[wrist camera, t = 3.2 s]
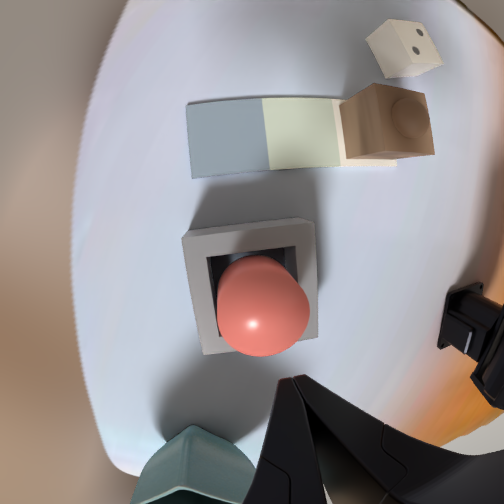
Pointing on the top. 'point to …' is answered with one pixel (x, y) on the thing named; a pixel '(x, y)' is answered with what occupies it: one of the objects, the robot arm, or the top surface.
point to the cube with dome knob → (386, 124)
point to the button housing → (244, 240)
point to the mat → (267, 136)
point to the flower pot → (195, 472)
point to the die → (403, 49)
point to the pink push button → (260, 306)
